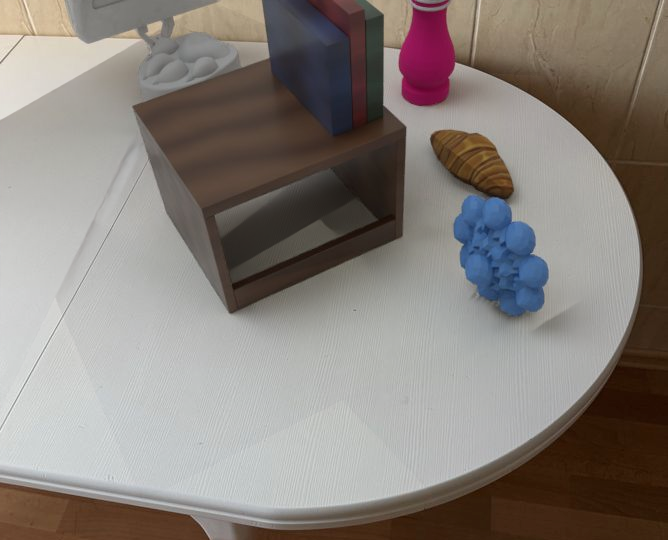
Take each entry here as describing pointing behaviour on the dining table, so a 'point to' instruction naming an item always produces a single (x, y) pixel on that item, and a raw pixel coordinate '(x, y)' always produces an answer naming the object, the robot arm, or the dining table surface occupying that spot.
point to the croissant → (473, 161)
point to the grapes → (500, 255)
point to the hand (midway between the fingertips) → (160, 50)
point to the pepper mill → (427, 54)
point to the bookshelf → (283, 139)
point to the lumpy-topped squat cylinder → (185, 63)
